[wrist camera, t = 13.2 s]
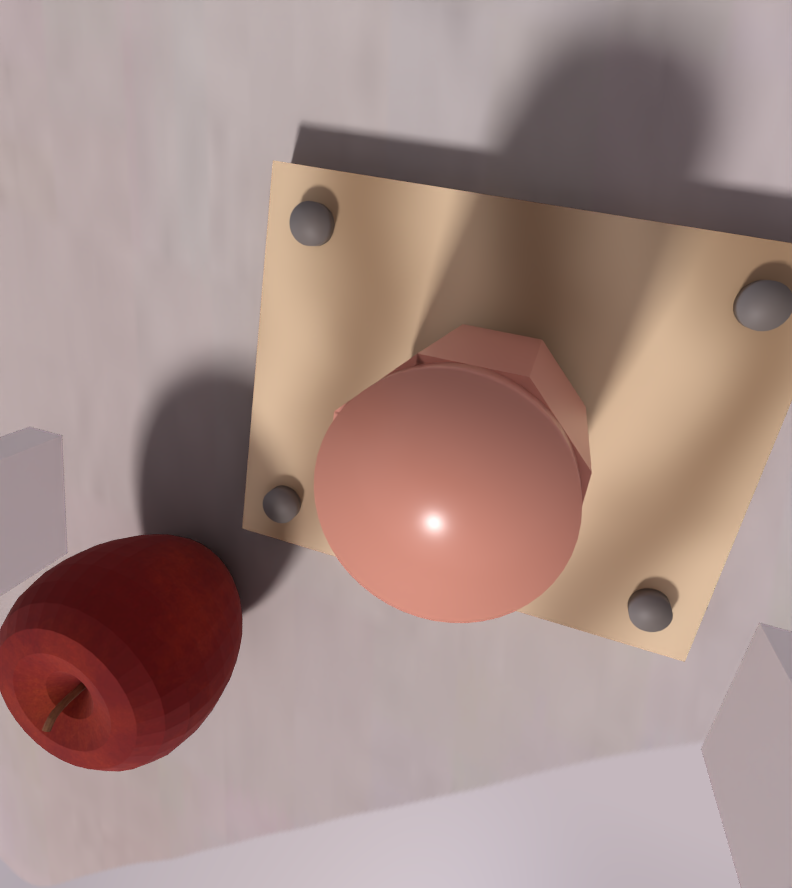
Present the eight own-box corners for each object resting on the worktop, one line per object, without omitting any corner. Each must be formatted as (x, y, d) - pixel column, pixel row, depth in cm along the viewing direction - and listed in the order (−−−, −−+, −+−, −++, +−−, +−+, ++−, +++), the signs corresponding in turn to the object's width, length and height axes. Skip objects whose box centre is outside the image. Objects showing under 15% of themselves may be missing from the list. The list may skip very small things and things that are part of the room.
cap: (601, 351, 21) (617, 404, 13) (552, 527, 23) (543, 654, 16) (409, 313, 22) (329, 343, 15) (382, 483, 25) (301, 581, 17)
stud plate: (257, 515, 30) (157, 598, 22) (289, 165, 24) (170, 128, 17) (678, 639, 26) (720, 790, 18) (833, 253, 20) (978, 252, 13)
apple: (126, 478, 31) (-59, 571, 22) (293, 534, 29) (166, 661, 20) (120, 624, 34) (-44, 758, 25) (269, 683, 33) (150, 850, 24)
